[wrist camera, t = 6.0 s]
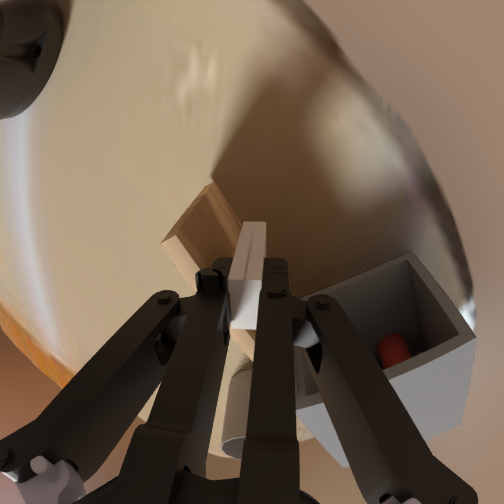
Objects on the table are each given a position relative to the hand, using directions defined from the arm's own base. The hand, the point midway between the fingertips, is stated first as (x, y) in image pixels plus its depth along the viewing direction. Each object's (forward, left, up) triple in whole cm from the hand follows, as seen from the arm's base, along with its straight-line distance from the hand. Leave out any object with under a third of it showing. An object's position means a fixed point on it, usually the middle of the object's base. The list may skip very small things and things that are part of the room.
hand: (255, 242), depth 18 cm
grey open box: (+19, +5, -8) cm, 21 cm away
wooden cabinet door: (+3, -3, -7) cm, 8 cm away
